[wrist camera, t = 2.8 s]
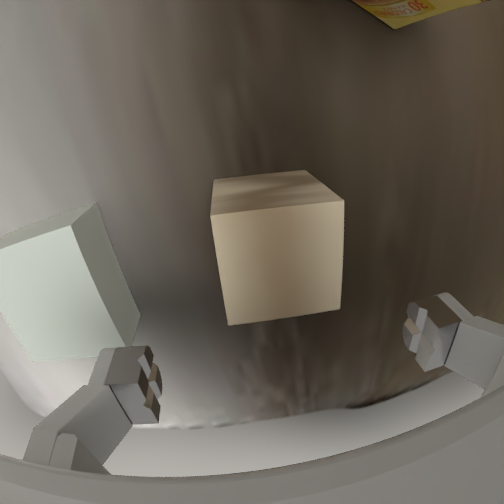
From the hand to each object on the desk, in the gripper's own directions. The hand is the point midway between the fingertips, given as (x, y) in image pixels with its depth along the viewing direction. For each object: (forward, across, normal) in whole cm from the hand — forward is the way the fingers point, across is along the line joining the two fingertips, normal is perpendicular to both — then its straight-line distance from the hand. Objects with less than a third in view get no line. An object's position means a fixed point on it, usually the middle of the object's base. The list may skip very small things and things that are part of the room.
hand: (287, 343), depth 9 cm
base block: (+10, +12, +2) cm, 16 cm away
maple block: (+10, -1, 0) cm, 10 cm away
